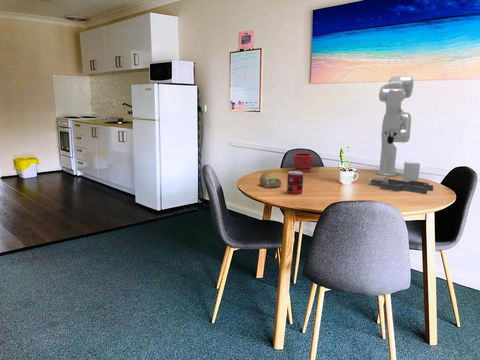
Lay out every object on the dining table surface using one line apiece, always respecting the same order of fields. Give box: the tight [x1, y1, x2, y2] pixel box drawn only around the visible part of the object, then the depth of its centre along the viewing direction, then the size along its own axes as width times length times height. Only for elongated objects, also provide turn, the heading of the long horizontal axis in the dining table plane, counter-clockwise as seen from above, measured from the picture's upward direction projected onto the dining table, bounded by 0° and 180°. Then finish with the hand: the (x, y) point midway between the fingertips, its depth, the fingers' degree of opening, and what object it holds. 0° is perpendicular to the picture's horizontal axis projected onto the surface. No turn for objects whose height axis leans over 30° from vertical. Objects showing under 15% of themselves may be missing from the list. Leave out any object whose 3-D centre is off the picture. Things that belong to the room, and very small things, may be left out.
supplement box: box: [402, 160, 421, 182], centre depth 226 cm, size 7×7×13 cm
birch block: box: [373, 174, 389, 184], centre depth 220 cm, size 6×6×5 cm
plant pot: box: [293, 152, 314, 173], centre depth 259 cm, size 13×13×12 cm
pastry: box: [258, 171, 282, 189], centre depth 212 cm, size 14×12×8 cm
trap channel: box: [368, 177, 434, 195], centre depth 213 cm, size 22×32×3 cm
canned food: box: [286, 170, 304, 195], centre depth 195 cm, size 8×8×11 cm
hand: (390, 143), depth 216 cm, fingers closed
